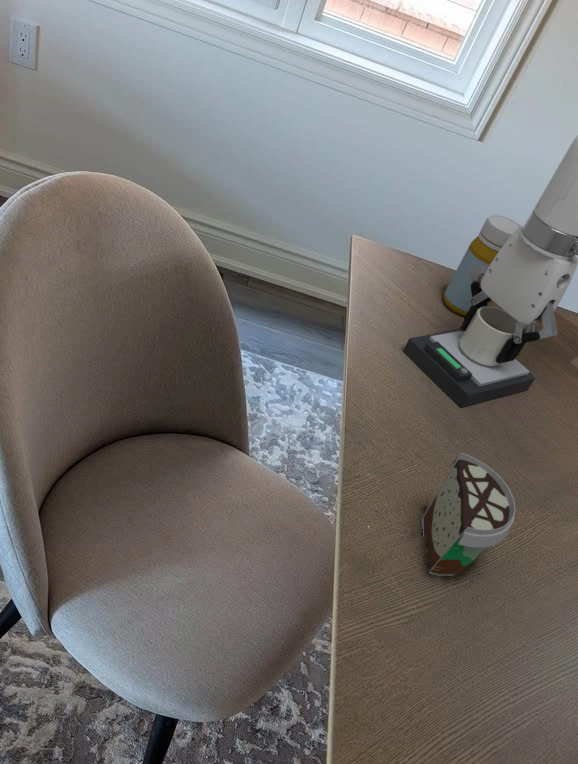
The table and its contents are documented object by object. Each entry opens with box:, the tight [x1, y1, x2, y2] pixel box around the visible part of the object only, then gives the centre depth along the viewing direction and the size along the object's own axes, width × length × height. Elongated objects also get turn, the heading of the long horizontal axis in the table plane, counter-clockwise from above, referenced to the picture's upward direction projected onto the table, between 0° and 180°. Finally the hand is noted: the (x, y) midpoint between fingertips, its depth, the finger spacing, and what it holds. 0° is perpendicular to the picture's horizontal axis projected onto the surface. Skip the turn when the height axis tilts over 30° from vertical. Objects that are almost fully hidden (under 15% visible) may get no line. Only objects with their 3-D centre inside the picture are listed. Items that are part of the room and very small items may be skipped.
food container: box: [421, 452, 516, 577], centre depth 81 cm, size 12×6×10 cm, turn 170°
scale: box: [402, 328, 537, 409], centre depth 111 cm, size 15×13×4 cm
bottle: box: [442, 214, 523, 318], centre depth 121 cm, size 7×7×15 cm
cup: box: [460, 305, 516, 366], centre depth 109 cm, size 7×7×6 cm
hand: (485, 344), depth 110 cm, fingers closed on cup, 6 cm apart
